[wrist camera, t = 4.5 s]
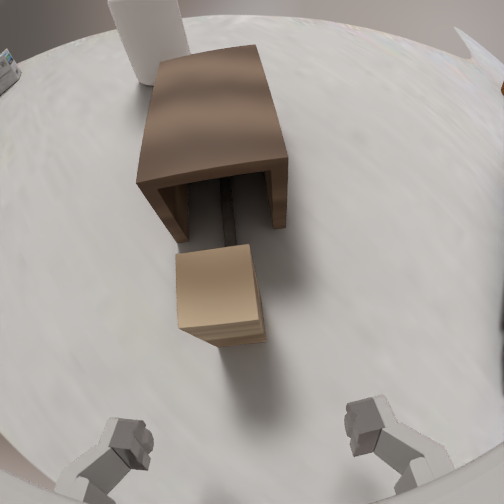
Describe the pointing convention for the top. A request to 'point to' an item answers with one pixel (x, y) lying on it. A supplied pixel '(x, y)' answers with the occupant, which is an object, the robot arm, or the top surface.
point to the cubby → (210, 132)
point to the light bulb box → (8, 71)
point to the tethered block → (220, 288)
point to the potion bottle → (149, 34)
